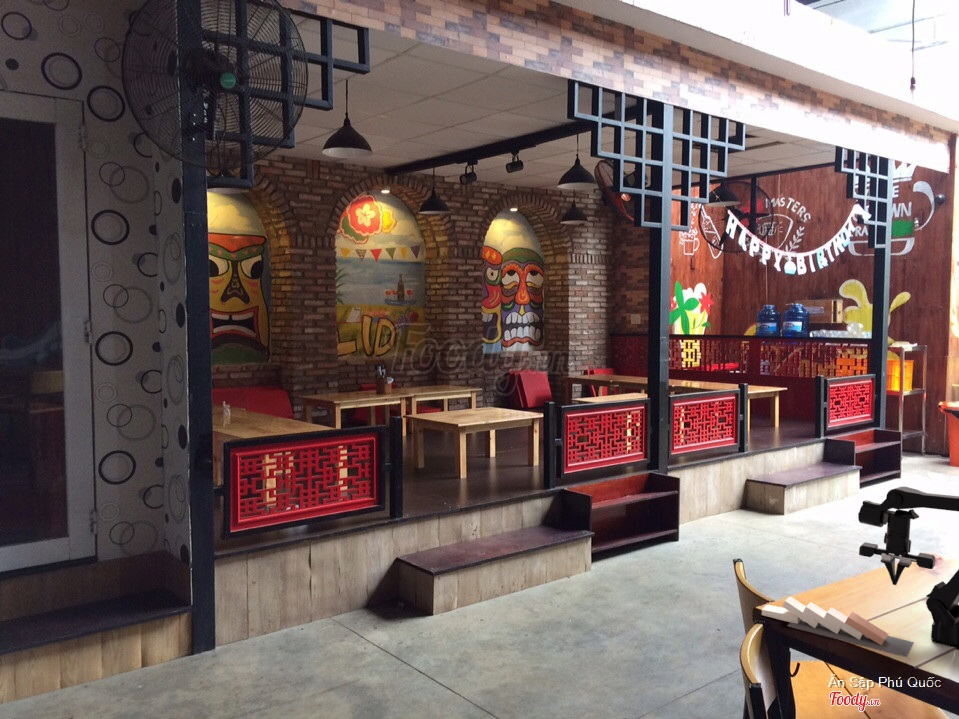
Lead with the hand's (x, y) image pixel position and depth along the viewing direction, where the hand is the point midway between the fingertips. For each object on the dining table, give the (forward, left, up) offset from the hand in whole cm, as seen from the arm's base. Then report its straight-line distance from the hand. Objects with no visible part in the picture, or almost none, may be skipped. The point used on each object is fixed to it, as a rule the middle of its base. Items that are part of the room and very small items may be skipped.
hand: (894, 584), depth 223 cm
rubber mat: (+8, +16, -12) cm, 22 cm away
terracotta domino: (-1, +16, -11) cm, 19 cm away
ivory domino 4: (+5, +16, -11) cm, 20 cm away
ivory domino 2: (+16, +16, -11) cm, 25 cm away
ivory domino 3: (+10, +16, -11) cm, 22 cm away
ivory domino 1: (+21, +16, -10) cm, 29 cm away
